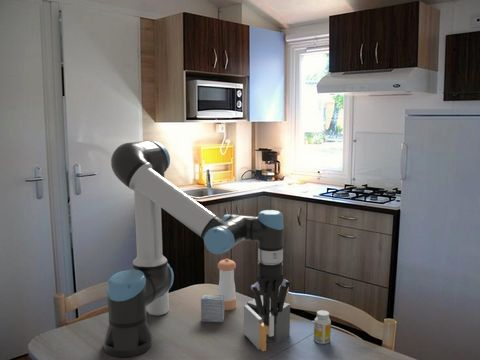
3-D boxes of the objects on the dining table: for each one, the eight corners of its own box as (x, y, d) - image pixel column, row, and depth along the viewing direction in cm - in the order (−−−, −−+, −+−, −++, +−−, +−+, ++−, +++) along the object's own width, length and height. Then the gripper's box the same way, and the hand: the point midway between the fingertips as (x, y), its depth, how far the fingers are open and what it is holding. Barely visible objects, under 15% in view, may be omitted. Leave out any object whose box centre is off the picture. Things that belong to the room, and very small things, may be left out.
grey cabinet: (242, 331, 162) (242, 298, 160) (256, 323, 168) (256, 291, 166) (276, 344, 153) (276, 309, 151) (289, 335, 159) (290, 301, 157)
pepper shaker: (216, 303, 185) (216, 255, 182) (235, 302, 186) (235, 255, 183) (217, 310, 178) (217, 261, 175) (237, 310, 179) (237, 261, 176)
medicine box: (224, 317, 172) (224, 295, 171) (222, 323, 168) (222, 299, 167) (203, 316, 173) (202, 294, 172) (200, 322, 169) (200, 298, 167)
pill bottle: (158, 305, 183) (157, 268, 180) (173, 310, 178) (172, 272, 176) (142, 312, 176) (141, 273, 174) (158, 318, 172) (157, 278, 169)
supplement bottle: (315, 344, 153) (315, 316, 152) (312, 336, 159) (313, 309, 157) (331, 344, 153) (332, 316, 152) (328, 336, 158) (329, 309, 157)
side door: (243, 333, 159) (244, 305, 158) (247, 332, 160) (247, 304, 158) (262, 354, 146) (262, 323, 144) (266, 353, 146) (266, 322, 145)
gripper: (256, 267, 138) (255, 343, 141) (295, 262, 143) (294, 335, 146) (246, 260, 145) (245, 332, 148) (283, 255, 149) (282, 325, 153)
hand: (269, 334), depth 147 cm, fingers closed
